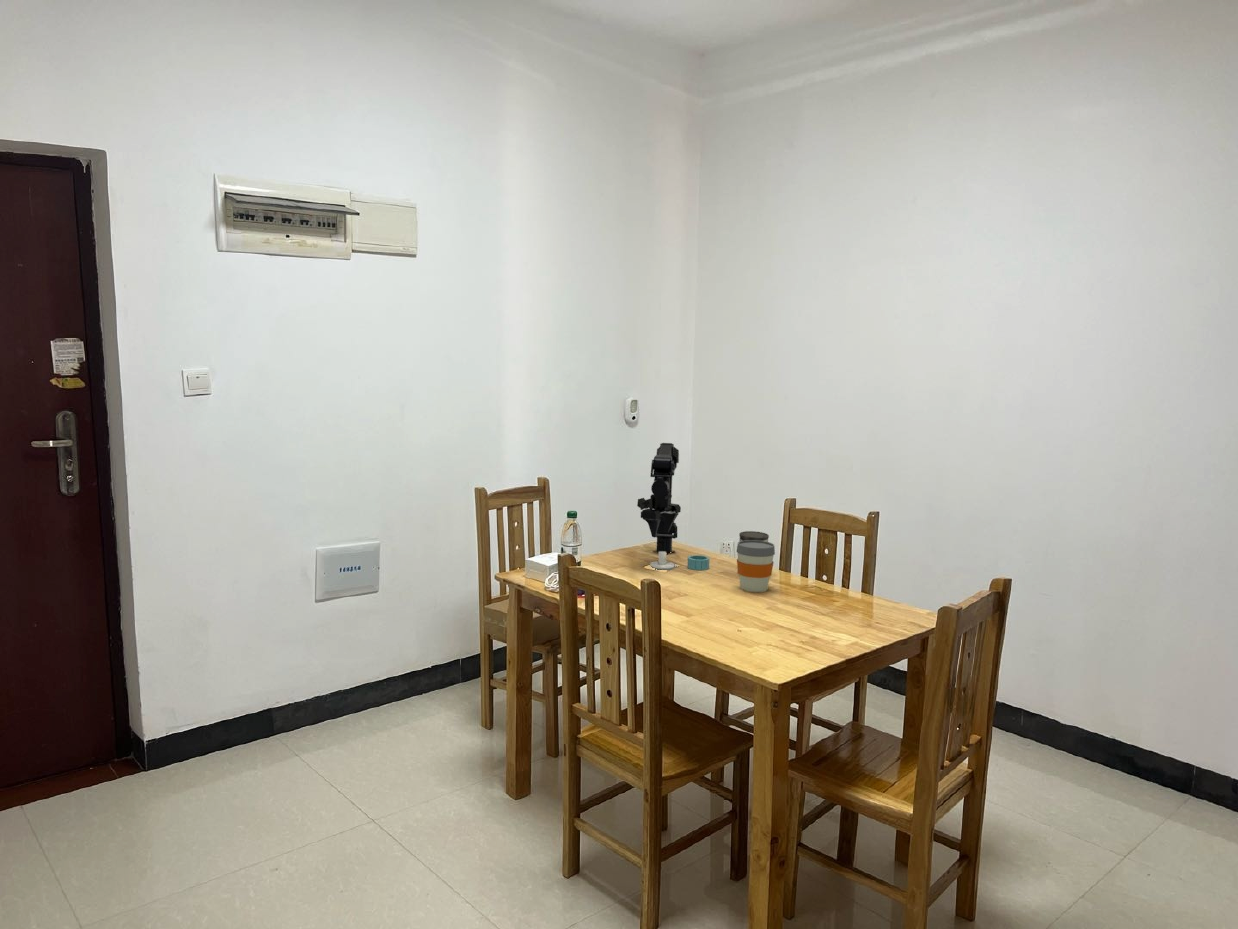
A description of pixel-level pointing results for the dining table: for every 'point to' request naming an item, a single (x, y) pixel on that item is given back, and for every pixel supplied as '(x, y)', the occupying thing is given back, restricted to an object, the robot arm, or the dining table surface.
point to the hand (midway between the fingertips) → (660, 534)
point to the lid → (662, 562)
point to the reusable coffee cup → (755, 564)
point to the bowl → (698, 562)
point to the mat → (668, 569)
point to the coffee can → (753, 536)
